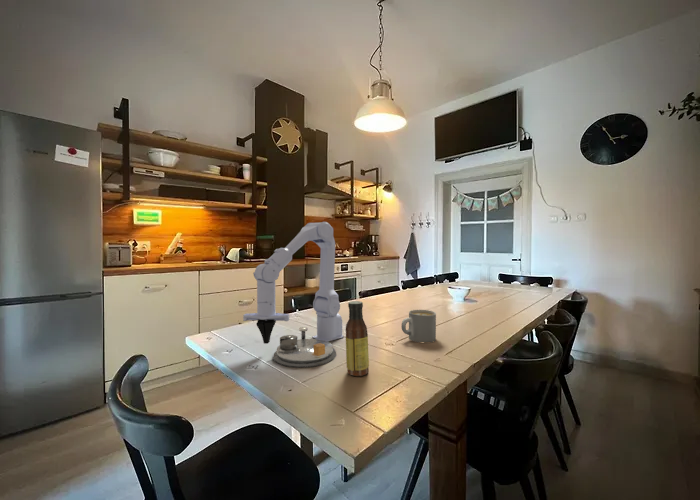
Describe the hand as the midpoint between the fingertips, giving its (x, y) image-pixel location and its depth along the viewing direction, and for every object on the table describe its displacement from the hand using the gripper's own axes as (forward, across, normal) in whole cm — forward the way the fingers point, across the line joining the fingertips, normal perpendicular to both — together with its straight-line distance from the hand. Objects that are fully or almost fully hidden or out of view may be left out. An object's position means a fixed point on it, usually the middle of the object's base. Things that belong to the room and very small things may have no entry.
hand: (266, 342), depth 100 cm
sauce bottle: (+4, +30, -13) cm, 32 cm away
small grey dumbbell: (+4, +10, +12) cm, 16 cm away
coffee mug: (+4, +52, +18) cm, 56 cm away
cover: (+2, +7, 0) cm, 7 cm away
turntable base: (+4, +13, 0) cm, 13 cm away
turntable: (+4, +13, 0) cm, 13 cm away
